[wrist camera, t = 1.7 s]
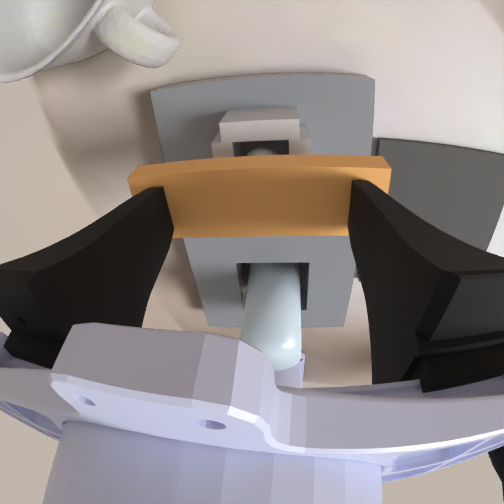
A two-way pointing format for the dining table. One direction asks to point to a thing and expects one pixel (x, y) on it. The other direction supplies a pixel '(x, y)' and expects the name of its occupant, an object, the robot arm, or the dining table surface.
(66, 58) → the teacup
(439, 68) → the dining table surface
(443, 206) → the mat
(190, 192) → the plunger
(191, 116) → the housing
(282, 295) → the cylinder
